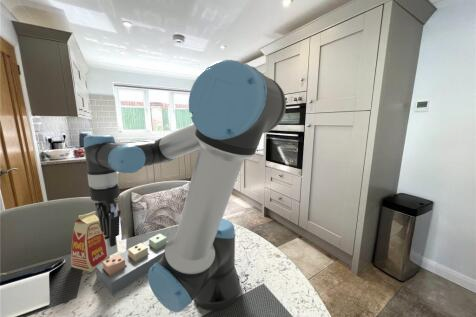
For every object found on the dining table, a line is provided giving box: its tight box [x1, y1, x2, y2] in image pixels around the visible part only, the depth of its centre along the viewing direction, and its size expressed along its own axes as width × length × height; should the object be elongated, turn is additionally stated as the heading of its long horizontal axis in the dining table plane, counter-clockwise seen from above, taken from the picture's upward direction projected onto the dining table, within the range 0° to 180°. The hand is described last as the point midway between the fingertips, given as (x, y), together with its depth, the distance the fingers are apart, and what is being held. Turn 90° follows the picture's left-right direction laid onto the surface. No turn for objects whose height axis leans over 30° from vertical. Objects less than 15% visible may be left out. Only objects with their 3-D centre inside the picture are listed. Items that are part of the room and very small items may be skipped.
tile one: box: [148, 233, 168, 250], centre depth 78 cm, size 5×5×3 cm
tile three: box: [103, 253, 126, 276], centre depth 65 cm, size 5×5×3 cm
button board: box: [95, 239, 169, 297], centre depth 72 cm, size 12×23×4 cm, turn 144°
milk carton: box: [70, 210, 111, 273], centre depth 73 cm, size 9×9×20 cm
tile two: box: [127, 242, 148, 262], centre depth 71 cm, size 5×5×3 cm
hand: (112, 253), depth 64 cm, fingers closed
